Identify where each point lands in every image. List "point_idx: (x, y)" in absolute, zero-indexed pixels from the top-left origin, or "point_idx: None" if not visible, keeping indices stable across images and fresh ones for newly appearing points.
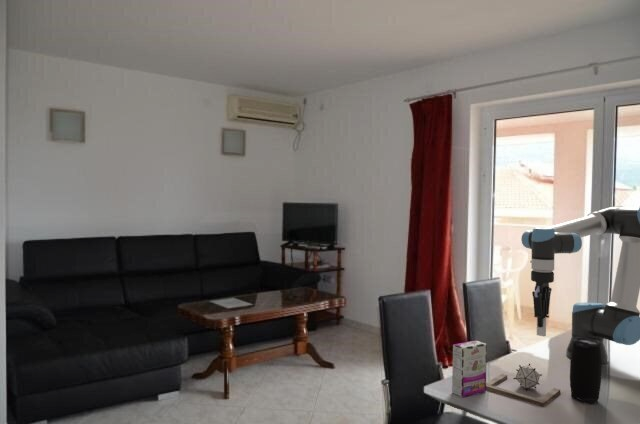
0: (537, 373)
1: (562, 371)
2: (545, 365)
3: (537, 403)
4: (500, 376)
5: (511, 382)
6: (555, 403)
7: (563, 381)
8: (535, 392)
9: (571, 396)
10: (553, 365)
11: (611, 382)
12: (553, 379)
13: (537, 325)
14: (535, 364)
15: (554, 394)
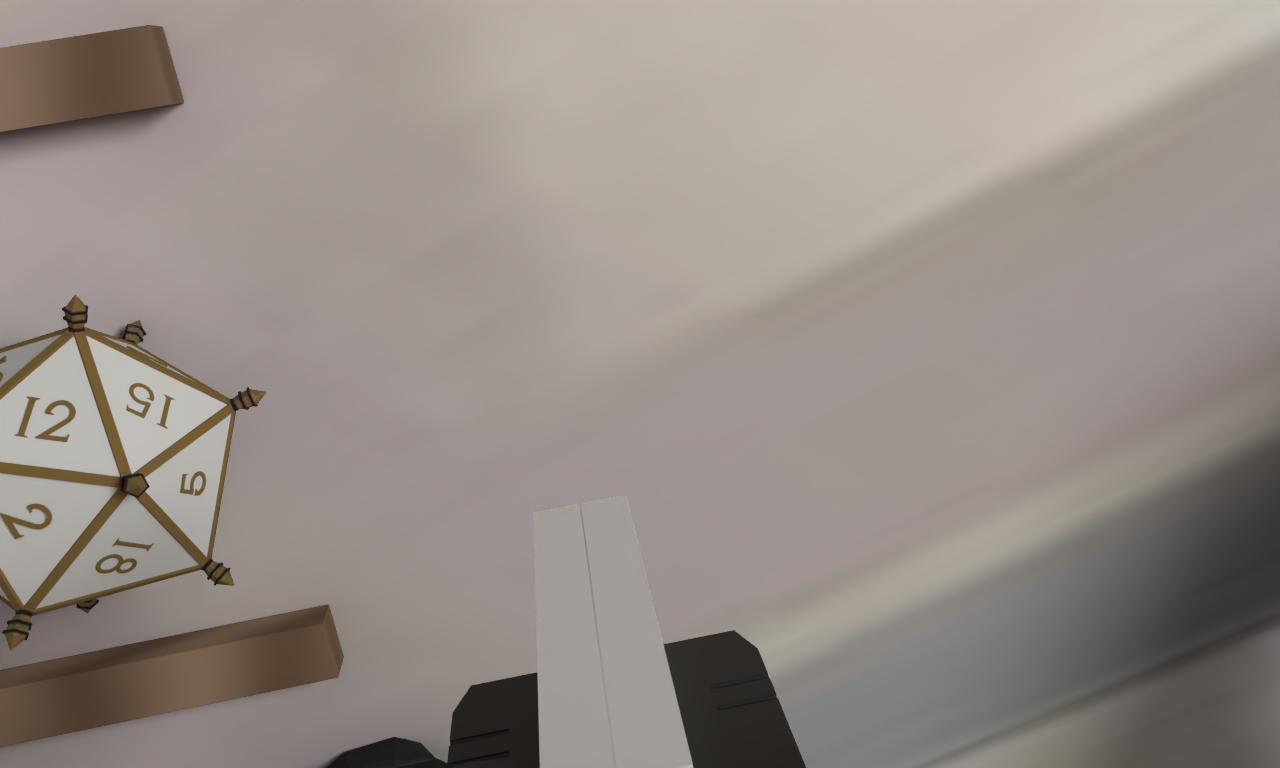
0: (134, 584)
1: (1015, 338)
2: (1077, 112)
3: None
4: (30, 79)
5: (116, 212)
6: (46, 764)
7: (703, 505)
8: None
9: (333, 764)
10: (1151, 169)
11: (1059, 733)
12: (671, 420)
13: (537, 650)
14: (1018, 13)
15: (154, 713)
